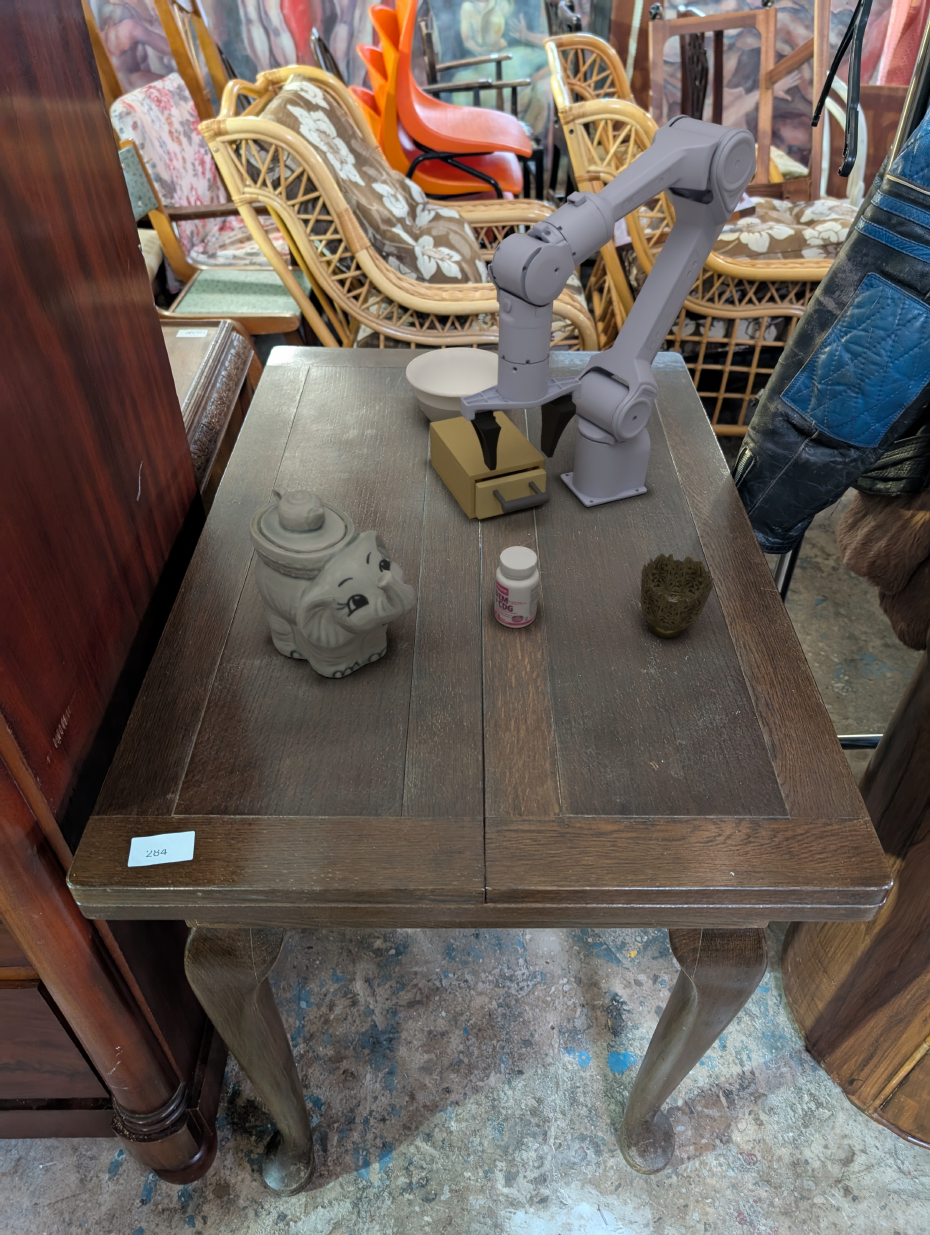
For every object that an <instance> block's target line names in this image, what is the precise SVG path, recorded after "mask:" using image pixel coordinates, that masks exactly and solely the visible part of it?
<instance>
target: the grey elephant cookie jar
mask: <svg viewBox="0 0 930 1235" xmlns="http://www.w3.org/2000/svg"><path fill="white" fill-rule="evenodd" d="M272 495H273V497H274V499H275V500H273V501H270V502H267V503H265V504H263V505H262V506H260V507H259V508H258V509H257V510H256V511H255V513H253V514H252V516H251V518H250V520H249V530H248V532H249V533H248V534H249V540H250V542H251V543H252V547H253V548H254V550H255V552H256V554H257V558H256V561H255V564H254V570H253V572H254V583H255V586H256V589H257V591H258V593H259V595H260V599H261V600H260V602H261V607H262V610H263V611H264V616H265V618H266V620H267V623H268V626H269V628H270V634H271V638H272V643H273V645H274V647H275V648H276V650H277V651H278V652H279V653H280V654H281V655H284V656H285V657H288V658H289V657H290V658H293V659H303V660H307V661H308V662H309V664H310V666H311V668H312V669H313V670H314V671H315V672H316V673H318V674H320V675H321V676H324V677H328V678H336V679H337V678H338V679H340V678H342V677H346V676H348V675H350V674H351V673H353V672H354V671H356V670H357V669H360V668H361V667H362V666H364V665H366V664H369V663H372V662H375V661H377V660H379V659H380V658H382V657H384V656H385V654H386V652H387V649H388V639H387V631H388V626H389V624H391V623H393V622H395V621H398V620H401V619H402V618H404V617H406V616H407V615H409V614H411V613H413V611H414V609H415V608H416V606H417V593H416V591H415V590H416V589H414V587H413V586H412V585H410V584H408V578H407V576H406V573H405V572H404V570H403V568H402V567H401V566H400V565H399V564H398V563H396V562H395V561H392V560H391V557H390V556H391V555H390V553H389V551H388V548H387V546H386V542H385V541H384V539H383V537H382V536H381V534H380V533H379V532H378V531H376V530H365V531H363V532H361V533H358V532H357V528H356V525H355V523H354V521H353V519H352V518H351V517H350V516H349V514H347V512H346V511H344V510H343V509H341V508H340V507H339V506H336V505H334V504H333V503H330V502H329V501H326V500H322V499H321V497H319V496H318V495H317V494H316V493H315V492H313V491H309V490H306V489H298V490H293V491H288V489H286V487H284V486H283V485H281V484H276V485H274V486H273V488H272Z"/></svg>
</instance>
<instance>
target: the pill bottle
mask: <svg viewBox="0 0 930 1235" xmlns="http://www.w3.org/2000/svg"><path fill="white" fill-rule="evenodd" d="M494 582H495V586H494V611H493V612H494V616H495V619H496V620H497V621H498V622H499V623H500V624H501V625H503V626H505V627H507V628H513V629H519V628H524V627H527V626H529V625H531V624H532V622H534V620H535V619H536V617H537V610H538V600H539V599H538V598H539V586H540V571H539V570H538V556H537V554H536V552H535V551H533V549H530V548H529V547H526V546H521V545H515V546H510V547H507V548H505V549H503V551H501V554H500V555H499V562H498V567H497V568H496V571H495V581H494Z"/></svg>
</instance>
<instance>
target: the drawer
mask: <svg viewBox="0 0 930 1235" xmlns="http://www.w3.org/2000/svg"><path fill="white" fill-rule="evenodd" d="M546 484H547V472H546V470H545V469H544V470H543V468H542V469H537V470H533V467H531V468H526V469H522V470H517V471H513V472H508V473H504V474H499V475H495V476H491V477H486V478H482V479H477V480H475V515H476V516H477V517H476V518H477V519H478V520H482V519H486V518H491V517H494V516H499V515H503V514H508V513H512V512H516V511H519V510H524V509H528V508H532V507H535V506H540V505H544V504H548V503H549V502H550V497H549V494H548V492H546Z"/></svg>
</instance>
